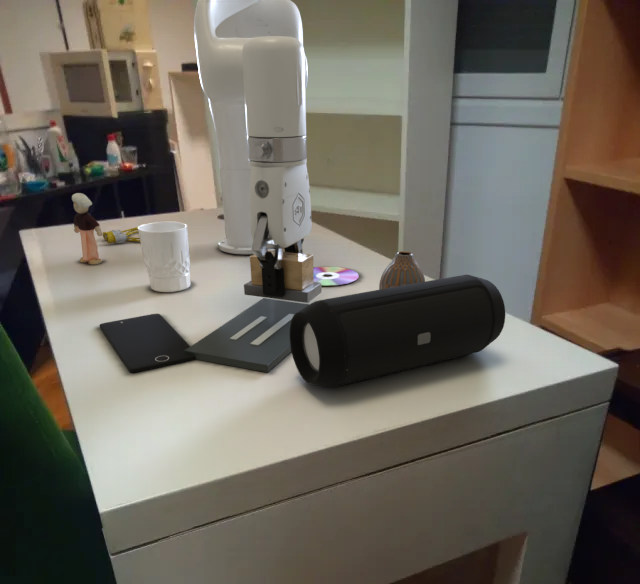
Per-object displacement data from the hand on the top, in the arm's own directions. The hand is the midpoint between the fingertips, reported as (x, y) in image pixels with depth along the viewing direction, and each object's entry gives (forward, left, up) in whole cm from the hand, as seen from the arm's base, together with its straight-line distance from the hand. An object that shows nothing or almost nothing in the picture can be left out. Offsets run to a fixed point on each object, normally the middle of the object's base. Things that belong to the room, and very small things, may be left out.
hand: (283, 288), depth 85 cm
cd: (-22, -2, -5) cm, 23 cm away
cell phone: (+14, -14, -5) cm, 21 cm away
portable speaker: (+9, +20, -5) cm, 23 cm away
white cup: (-7, -25, -5) cm, 27 cm away
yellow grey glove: (-34, -52, -5) cm, 62 cm away
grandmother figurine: (-14, -48, -5) cm, 50 cm away
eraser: (0, 0, -1) cm, 1 cm away
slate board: (+6, 0, -5) cm, 8 cm away
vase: (-10, +15, -5) cm, 19 cm away
